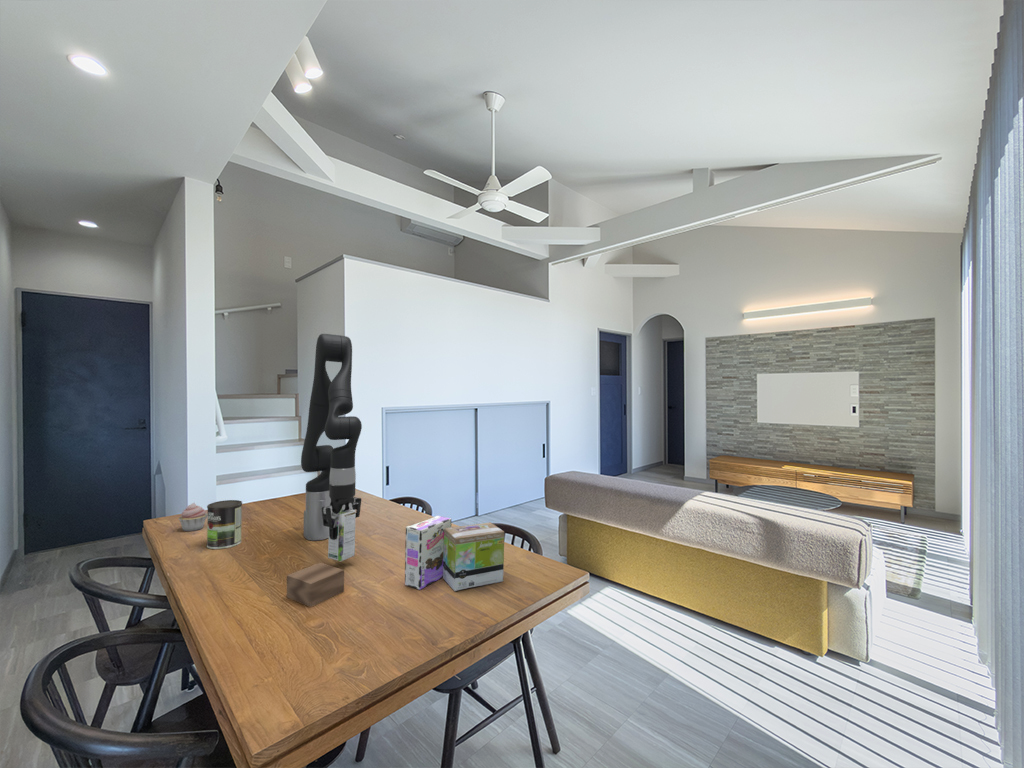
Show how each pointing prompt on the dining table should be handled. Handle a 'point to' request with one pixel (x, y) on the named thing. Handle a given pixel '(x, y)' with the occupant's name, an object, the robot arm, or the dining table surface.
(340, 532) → the syrup box
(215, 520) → the coffee can
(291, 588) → the walnut block
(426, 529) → the candy box
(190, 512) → the cupcake
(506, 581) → the dining table surface
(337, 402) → the robot arm
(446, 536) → the tea box
